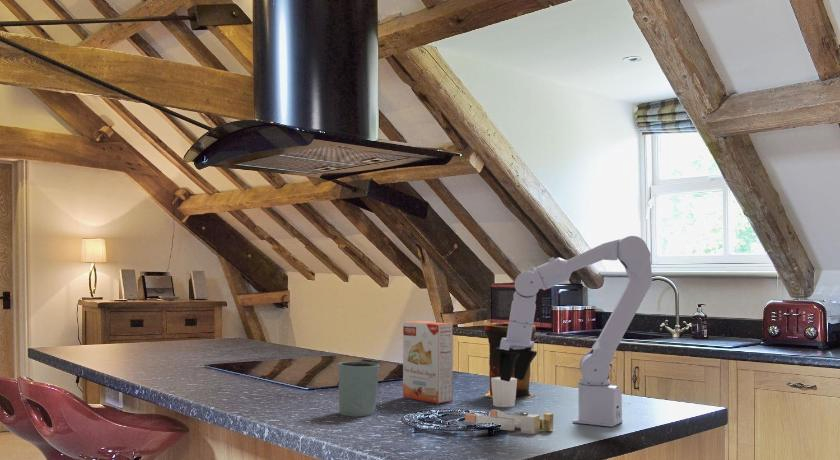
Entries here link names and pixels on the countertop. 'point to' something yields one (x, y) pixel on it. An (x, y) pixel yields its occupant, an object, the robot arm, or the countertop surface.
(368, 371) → the green cup
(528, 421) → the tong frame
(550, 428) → the lock bolt
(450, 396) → the cracker box
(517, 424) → the bar
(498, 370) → the vessel
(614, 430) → the countertop surface
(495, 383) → the white tapered cup
